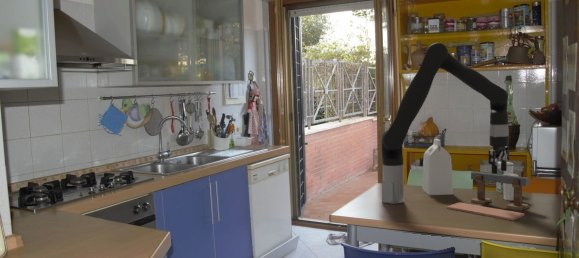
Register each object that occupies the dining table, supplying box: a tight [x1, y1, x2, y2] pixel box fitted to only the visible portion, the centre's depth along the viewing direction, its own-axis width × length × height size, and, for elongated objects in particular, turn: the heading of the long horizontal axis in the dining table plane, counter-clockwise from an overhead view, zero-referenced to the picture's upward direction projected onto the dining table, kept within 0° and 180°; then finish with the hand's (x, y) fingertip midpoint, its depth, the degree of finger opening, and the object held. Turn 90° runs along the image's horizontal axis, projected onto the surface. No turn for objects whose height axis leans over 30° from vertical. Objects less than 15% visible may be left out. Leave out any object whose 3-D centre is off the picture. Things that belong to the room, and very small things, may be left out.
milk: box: [422, 138, 454, 196], centre depth 233 cm, size 12×12×26 cm
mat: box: [446, 202, 525, 222], centre depth 196 cm, size 10×28×1 cm, turn 41°
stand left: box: [470, 175, 493, 205], centre depth 212 cm, size 7×6×12 cm
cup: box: [503, 173, 519, 201], centre depth 215 cm, size 7×7×11 cm
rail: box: [470, 171, 530, 187], centre depth 205 cm, size 3×24×3 cm, turn 41°
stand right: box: [506, 179, 530, 212], centre depth 200 cm, size 7×6×12 cm
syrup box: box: [495, 161, 515, 194], centre depth 229 cm, size 6×6×14 cm
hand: (499, 172), depth 205 cm, fingers open, 8 cm apart
